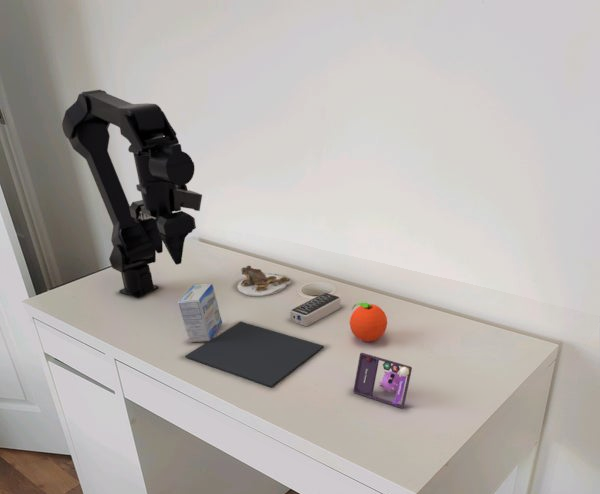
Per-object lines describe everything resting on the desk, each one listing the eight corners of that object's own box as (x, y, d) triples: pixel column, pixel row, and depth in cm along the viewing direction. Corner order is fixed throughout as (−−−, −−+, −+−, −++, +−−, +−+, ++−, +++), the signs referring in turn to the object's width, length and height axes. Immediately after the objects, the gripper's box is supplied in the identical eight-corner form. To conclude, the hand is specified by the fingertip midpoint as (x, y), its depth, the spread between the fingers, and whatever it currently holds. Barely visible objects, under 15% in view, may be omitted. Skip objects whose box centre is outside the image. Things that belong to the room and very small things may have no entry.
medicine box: (210, 342, 117) (199, 300, 112) (188, 343, 118) (177, 301, 114) (222, 323, 123) (213, 283, 119) (202, 324, 124) (191, 284, 120)
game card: (357, 353, 98) (409, 368, 93) (373, 349, 102) (422, 363, 98) (350, 393, 100) (400, 409, 95) (365, 387, 104) (414, 403, 100)
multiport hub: (341, 307, 128) (341, 297, 127) (306, 326, 121) (305, 316, 120) (325, 302, 131) (325, 291, 129) (290, 320, 124) (289, 310, 123)
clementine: (338, 336, 117) (337, 302, 113) (365, 325, 121) (365, 291, 117) (367, 352, 112) (367, 316, 108) (394, 339, 115) (395, 305, 111)
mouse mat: (185, 357, 113) (185, 355, 113) (240, 323, 124) (240, 321, 124) (271, 387, 103) (271, 385, 103) (323, 347, 114) (323, 345, 114)
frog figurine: (225, 291, 138) (223, 274, 136) (256, 272, 146) (254, 256, 144) (267, 300, 133) (266, 283, 131) (297, 280, 141) (296, 264, 139)
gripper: (214, 177, 112) (226, 259, 120) (173, 164, 126) (185, 238, 134) (158, 189, 107) (173, 274, 115) (121, 174, 121) (137, 250, 129)
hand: (168, 258), depth 124 cm, fingers open, 9 cm apart
